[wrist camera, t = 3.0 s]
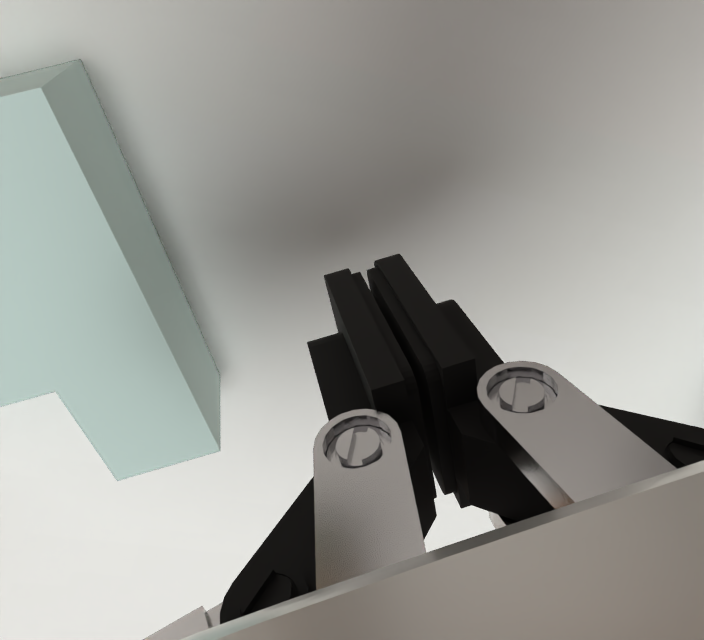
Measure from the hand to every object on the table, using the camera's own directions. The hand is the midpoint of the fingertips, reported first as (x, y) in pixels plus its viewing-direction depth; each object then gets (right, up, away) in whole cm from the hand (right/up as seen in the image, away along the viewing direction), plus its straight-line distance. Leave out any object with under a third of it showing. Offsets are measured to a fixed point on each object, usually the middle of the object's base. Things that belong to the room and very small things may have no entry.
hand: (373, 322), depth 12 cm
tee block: (-11, +1, +3) cm, 11 cm away
